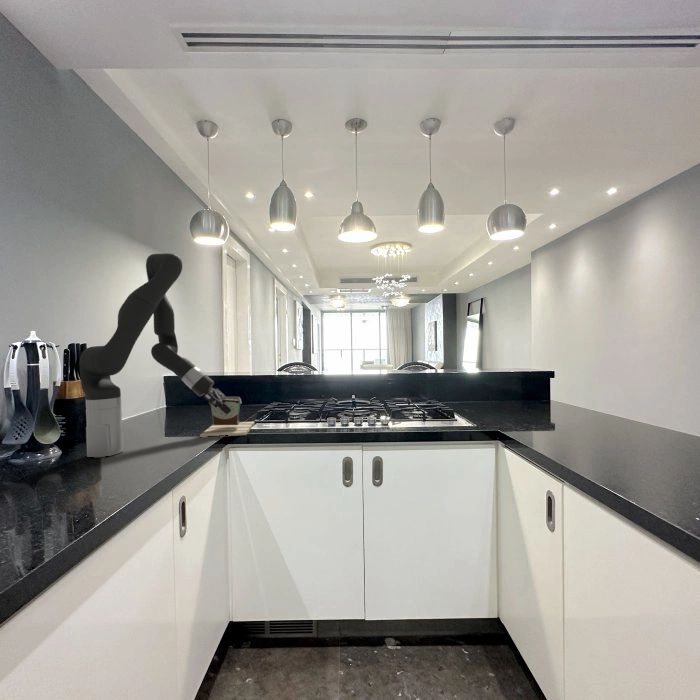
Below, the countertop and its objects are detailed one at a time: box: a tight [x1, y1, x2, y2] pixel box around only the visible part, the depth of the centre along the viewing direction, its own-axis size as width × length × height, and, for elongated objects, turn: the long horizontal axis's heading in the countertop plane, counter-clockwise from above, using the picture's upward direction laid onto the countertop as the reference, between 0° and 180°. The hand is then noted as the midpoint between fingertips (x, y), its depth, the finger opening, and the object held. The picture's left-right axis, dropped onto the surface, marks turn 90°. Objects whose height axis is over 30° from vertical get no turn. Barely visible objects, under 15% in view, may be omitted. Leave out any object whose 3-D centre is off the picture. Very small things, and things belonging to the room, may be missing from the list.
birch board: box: [199, 421, 255, 438], centre depth 149 cm, size 20×16×1 cm
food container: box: [208, 396, 243, 425], centre depth 149 cm, size 12×6×10 cm, turn 84°
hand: (231, 410), depth 149 cm, fingers closed on food container, 6 cm apart
